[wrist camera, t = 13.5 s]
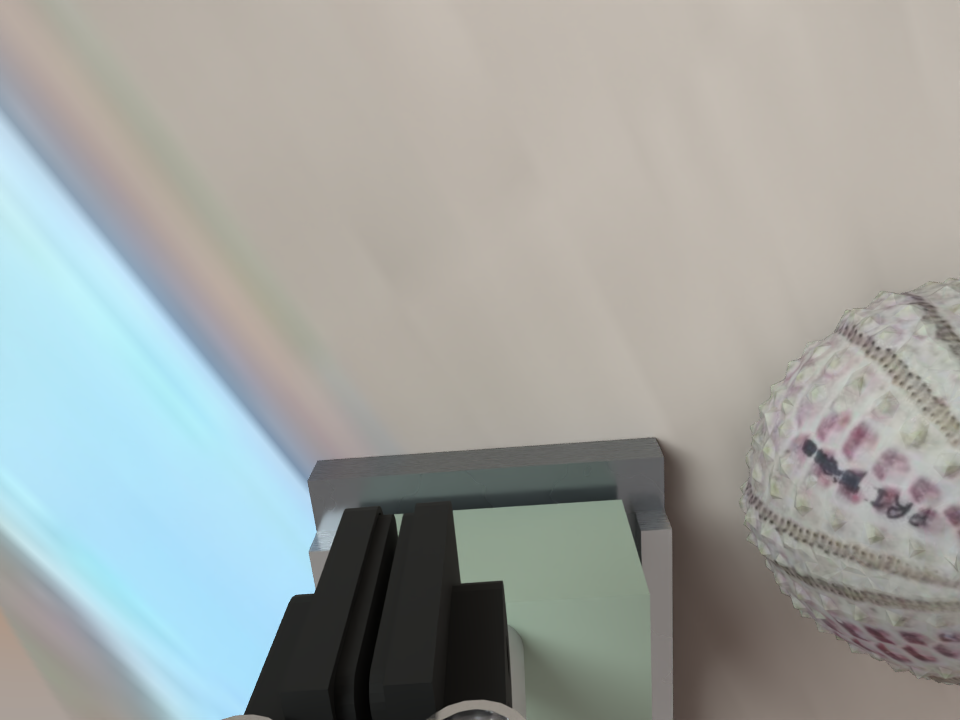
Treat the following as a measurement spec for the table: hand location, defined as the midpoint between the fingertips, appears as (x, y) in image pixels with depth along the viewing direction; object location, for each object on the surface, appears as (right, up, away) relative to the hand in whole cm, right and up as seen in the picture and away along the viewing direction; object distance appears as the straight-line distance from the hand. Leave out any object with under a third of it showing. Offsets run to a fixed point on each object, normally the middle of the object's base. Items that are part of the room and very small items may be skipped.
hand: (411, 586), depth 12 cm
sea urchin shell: (+16, +1, +15) cm, 22 cm away
